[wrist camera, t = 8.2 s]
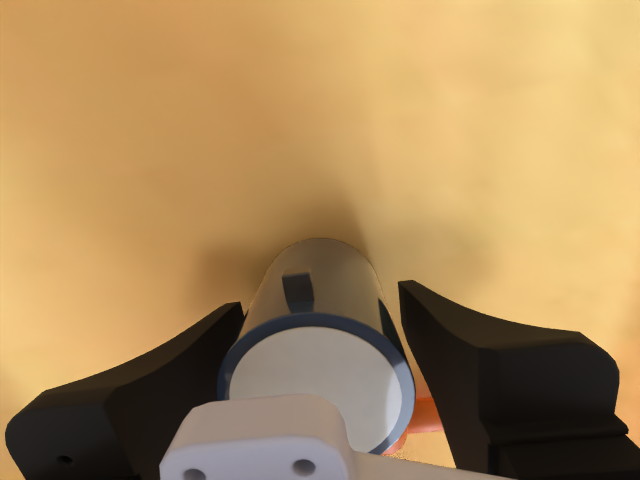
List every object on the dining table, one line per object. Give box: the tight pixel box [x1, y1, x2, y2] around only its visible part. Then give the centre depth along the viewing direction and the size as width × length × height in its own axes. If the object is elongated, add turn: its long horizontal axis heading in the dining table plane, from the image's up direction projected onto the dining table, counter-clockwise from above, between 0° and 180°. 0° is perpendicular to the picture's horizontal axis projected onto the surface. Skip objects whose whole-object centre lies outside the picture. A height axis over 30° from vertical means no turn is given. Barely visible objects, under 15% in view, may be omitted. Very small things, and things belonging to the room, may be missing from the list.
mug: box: [216, 238, 416, 455], centre depth 11 cm, size 6×7×6 cm
